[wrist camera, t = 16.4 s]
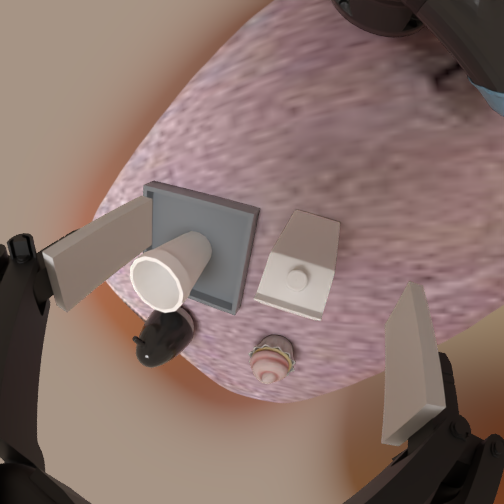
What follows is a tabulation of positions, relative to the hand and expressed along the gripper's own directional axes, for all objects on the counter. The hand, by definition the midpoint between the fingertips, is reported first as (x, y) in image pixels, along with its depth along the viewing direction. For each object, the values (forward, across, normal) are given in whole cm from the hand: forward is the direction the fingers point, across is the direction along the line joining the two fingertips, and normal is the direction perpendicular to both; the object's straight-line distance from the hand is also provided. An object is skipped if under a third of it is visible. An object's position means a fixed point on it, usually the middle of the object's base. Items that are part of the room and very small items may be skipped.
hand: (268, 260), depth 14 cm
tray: (+30, -18, -20) cm, 40 cm away
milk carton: (+30, +1, -12) cm, 33 cm away
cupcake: (+30, +1, -37) cm, 48 cm away
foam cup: (+29, -18, -20) cm, 39 cm away
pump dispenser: (+29, -21, -39) cm, 53 cm away
